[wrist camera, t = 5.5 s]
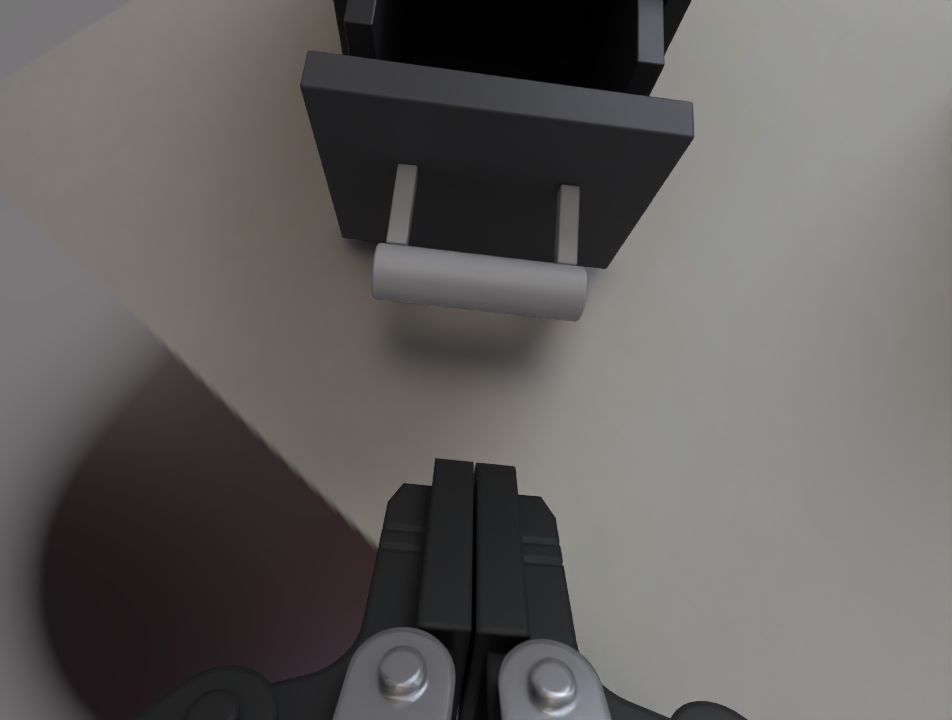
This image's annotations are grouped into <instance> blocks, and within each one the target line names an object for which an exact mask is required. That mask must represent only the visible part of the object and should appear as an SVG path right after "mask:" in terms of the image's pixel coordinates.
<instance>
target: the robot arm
mask: <svg viewBox="0 0 952 720" xmlns="http://www.w3.org/2000/svg"><path fill="white" fill-rule="evenodd" d="M562 562H563V560H562V554H561V548H560V546H559V536H558V530H557V524H556V518H555V517H554V515H553V514H552V512H551V511H550V509H549V508H548V506H547V505H546V503H545V502H544V501H543V499H542V498H541V497H538V496H527V495H518V489H517V478H516V469H515V467H514V466H506V465H496V464H486V463H476V465H475V470H474V463H473V462H468V461H458V460H448V459H438V458H435V465H434V474H433V483H432V486H427V485H417V484H407V483H403V485H402V486H401V487H400V488H399V489H398V490H397V492H396V493H395V494H394V495H393V496H392V498H391V499H390V500H389V501H388V504H387V509H386V514H385V518H384V523H383V529H382V533H381V537H380V542H379V549H378V552H377V556H376V562H375V566H374V571H373V576H372V580H371V585H370V590H369V595H368V599H367V604H366V609H365V614H364V618H363V623H362V626H361V630H360V632H359V634H358V637H357V639H356V640H355V642H354V643H353V645H352V646H351V648H350V649H349V650H348V651H347V652H346V653H345V654H344V655H343V656H342V657H340V658H339V659H338V660H337V661H336V662H334V663H332V664H331V665H329V666H328V667H326V668H324V669H321V670H319V671H317V672H314V673H311V674H308V675H304V676H300V677H296V678H292V679H287V680H283V681H279V682H275V683H271V684H270V683H269V682H268V680H267V679H266V678H265V677H263V676H262V675H261V674H260V673H258V672H256V671H254V670H252V669H249V668H246V667H242V666H221V667H216V668H212V669H209V670H205V671H203V672H201V673H199V674H196V675H194V676H192V677H191V678H189V679H187V680H186V681H184V682H183V683H181V684H180V685H178V686H177V687H176V688H174V689H173V690H171V691H170V692H169V693H167V694H166V695H164V696H163V697H162V698H160V699H159V700H157V701H156V702H155V703H153V704H152V705H151V706H149V707H148V708H146V709H145V710H143V711H142V712H141V713H139V714H138V715H136V716H135V717H134V718H132V719H131V720H456V716H457V710H458V704H459V710H458V720H747V719H746V718H744V717H743V716H741V715H740V714H738V713H737V712H735V711H733V710H731V709H729V708H727V707H725V706H723V705H720V704H717V703H713V702H708V701H696V702H690V703H687V704H685V705H683V706H681V707H680V708H679V709H677V710H676V711H675V713H674V714H673V715H672V717H671V719H670V718H668V717H665V716H663V715H661V714H658V713H656V712H653V711H651V710H649V709H646V708H644V707H641V706H639V705H636V704H634V703H632V702H629V701H627V700H625V699H623V698H621V697H619V696H617V695H616V694H614V693H613V692H611V691H609V690H608V689H607V688H606V687H605V686H603V685H602V684H601V681H600V678H599V676H598V674H597V673H596V671H595V669H594V668H593V666H592V665H591V664H590V662H589V661H588V660H587V659H586V658H585V657H584V656H583V655H582V654H580V653H579V650H578V646H577V642H576V636H575V631H574V625H573V619H572V613H571V607H570V601H569V595H568V589H567V583H566V577H565V571H564V566H563V565H562Z"/></svg>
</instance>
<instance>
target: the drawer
mask: <svg viewBox="0 0 952 720" xmlns="http://www.w3.org/2000/svg"><path fill="white" fill-rule="evenodd" d="M344 27H345V33H346V39H347V46H348V52H349V56H347V55H340V54H332V53H325V52H317V51H308V52H307V56H306V61H305V65H304V70H303V74H302V79H301V83H300V87H301V91H302V94H303V98H304V102H305V105H306V109H307V112H308V116H309V119H310V123H311V127H312V130H313V134H314V137H315V141H316V144H317V148H318V152H319V155H320V159H321V162H322V166H323V169H324V173H325V177H326V180H327V184H328V187H329V191H330V194H331V198H332V201H333V205H334V209H335V212H336V216H337V219H338V223H339V226H340V230H341V234H342V237H343V238H348V239H356V240H365V241H373V242H382V243H379V244H378V245H377V247H376V250H375V254H374V260H373V268H372V294H373V297H374V298H375V299H382V300H391V301H399V302H408V303H417V304H426V305H435V306H444V307H453V308H461V309H470V310H479V311H488V312H497V313H506V314H515V315H523V316H532V317H541V318H550V319H559V320H568V321H578V320H579V319H580V317H581V315H582V312H583V309H584V306H585V301H586V296H587V285H588V278H587V272H586V269H585V268H584V267H581V266H585V267H593V268H601V269H606V268H607V267H608V265H609V264H610V262H611V261H612V259H613V258H614V256H615V255H616V253H617V252H618V250H619V249H620V247H621V246H622V245H623V243H624V242H625V240H626V239H627V237H628V236H629V234H630V233H631V231H632V230H633V228H634V227H635V225H636V224H637V222H638V221H639V219H640V218H641V216H642V215H643V213H644V212H645V210H646V209H647V207H648V206H649V204H650V203H651V201H652V200H653V198H654V197H655V195H656V194H657V192H658V191H659V189H660V188H661V186H662V185H663V183H664V182H665V180H666V179H667V177H668V176H669V174H670V173H671V171H672V170H673V168H674V167H675V165H676V164H677V162H678V161H679V159H680V158H681V156H682V155H683V154H684V152H685V151H686V149H687V148H688V146H689V145H690V143H691V142H692V140H693V138H694V120H693V103H692V102H687V101H680V100H672V99H665V98H657V97H650V96H649V95H650V93H651V91H652V89H653V87H654V85H655V83H656V81H657V79H658V77H659V75H660V73H661V71H662V69H663V67H664V16H663V0H348V2H347V7H346V12H345V17H344ZM386 243H387V244H386ZM412 246H415V247H412ZM420 247H424V248H420ZM429 248H432V249H429ZM437 249H441V250H437ZM445 250H449V251H445ZM454 251H458V252H454ZM462 252H466V253H462ZM471 253H475V254H471ZM479 254H483V255H479ZM488 255H492V256H488ZM496 256H500V257H496ZM505 257H508V258H505ZM513 258H517V259H513ZM522 259H525V260H522ZM530 260H534V261H530ZM539 261H542V262H539ZM547 262H551V263H547Z"/></svg>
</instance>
